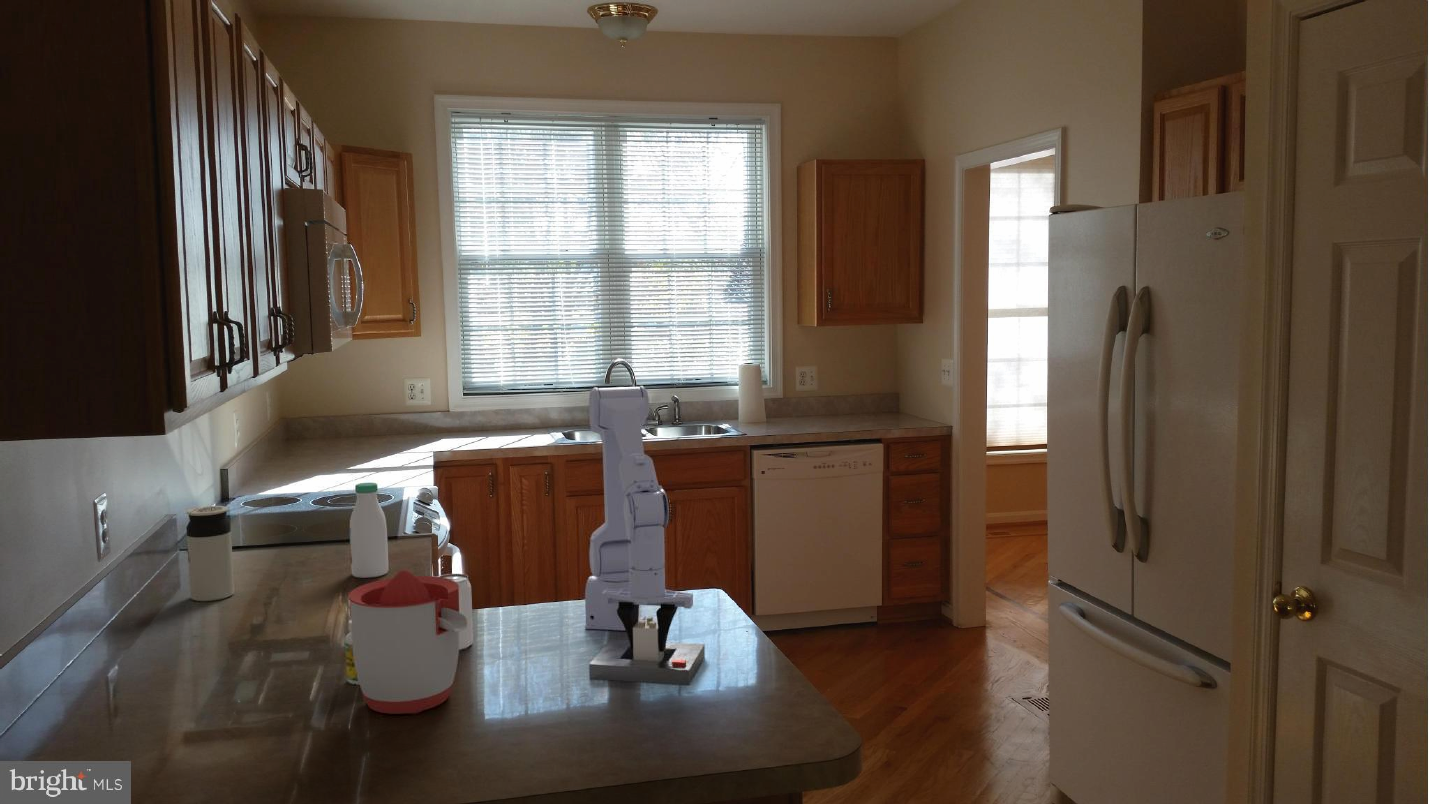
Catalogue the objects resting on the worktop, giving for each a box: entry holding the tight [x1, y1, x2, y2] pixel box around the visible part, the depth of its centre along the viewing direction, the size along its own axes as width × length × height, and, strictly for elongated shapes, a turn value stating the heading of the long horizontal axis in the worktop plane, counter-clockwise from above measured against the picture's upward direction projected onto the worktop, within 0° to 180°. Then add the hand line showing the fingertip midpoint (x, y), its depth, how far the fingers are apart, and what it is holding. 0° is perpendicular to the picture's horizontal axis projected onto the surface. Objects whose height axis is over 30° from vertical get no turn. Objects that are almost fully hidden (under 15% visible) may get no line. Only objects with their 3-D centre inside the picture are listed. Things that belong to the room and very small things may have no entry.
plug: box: [633, 616, 664, 661], centre depth 164 cm, size 4×4×7 cm
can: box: [437, 573, 474, 651], centre depth 176 cm, size 6×6×12 cm
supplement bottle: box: [344, 619, 360, 686], centre depth 160 cm, size 5×5×10 cm
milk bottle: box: [349, 482, 389, 579], centre depth 223 cm, size 8×8×20 cm
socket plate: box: [588, 638, 706, 686], centre depth 164 cm, size 16×12×3 cm
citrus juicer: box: [348, 569, 467, 715], centre depth 151 cm, size 16×17×20 cm
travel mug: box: [185, 505, 235, 602], centre depth 207 cm, size 8×8×18 cm
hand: (648, 649), depth 164 cm, fingers closed on plug, 4 cm apart
